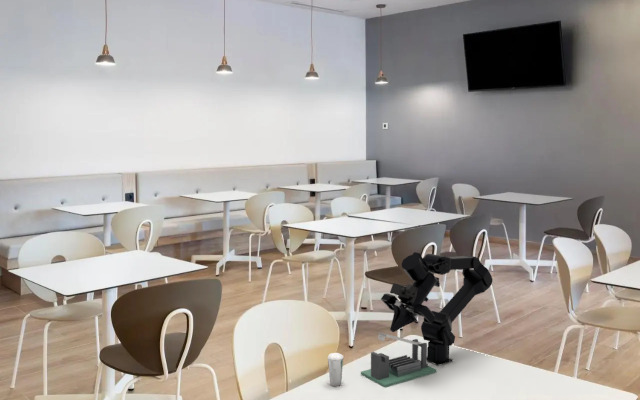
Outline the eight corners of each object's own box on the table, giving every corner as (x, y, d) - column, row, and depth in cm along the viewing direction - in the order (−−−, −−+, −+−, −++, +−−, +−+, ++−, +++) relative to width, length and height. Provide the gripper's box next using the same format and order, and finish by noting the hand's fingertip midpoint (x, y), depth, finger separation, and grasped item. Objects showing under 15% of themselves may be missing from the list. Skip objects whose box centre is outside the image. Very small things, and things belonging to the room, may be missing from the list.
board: (411, 360, 195) (411, 357, 195) (436, 372, 186) (436, 369, 186) (360, 374, 185) (360, 371, 184) (384, 387, 175) (384, 384, 175)
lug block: (381, 373, 183) (381, 349, 183) (388, 377, 180) (389, 353, 180) (370, 375, 181) (370, 352, 180) (378, 380, 178) (378, 356, 177)
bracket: (416, 361, 192) (416, 338, 191) (428, 367, 188) (428, 343, 187) (410, 363, 191) (410, 340, 190) (422, 368, 186) (422, 344, 186)
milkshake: (344, 388, 175) (344, 354, 174) (326, 386, 176) (326, 353, 175) (347, 381, 179) (347, 348, 178) (329, 380, 180) (329, 347, 179)
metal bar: (416, 348, 190) (418, 341, 190) (421, 351, 188) (424, 343, 188) (377, 338, 181) (379, 331, 181) (382, 341, 179) (384, 333, 179)
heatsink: (405, 363, 191) (405, 354, 190) (421, 370, 185) (421, 361, 185) (382, 369, 186) (382, 360, 186) (397, 377, 180) (398, 368, 180)
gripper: (386, 267, 190) (357, 307, 185) (428, 279, 175) (398, 323, 170) (404, 289, 195) (377, 328, 191) (447, 302, 180) (418, 345, 175)
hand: (391, 331), depth 181 cm, fingers closed
